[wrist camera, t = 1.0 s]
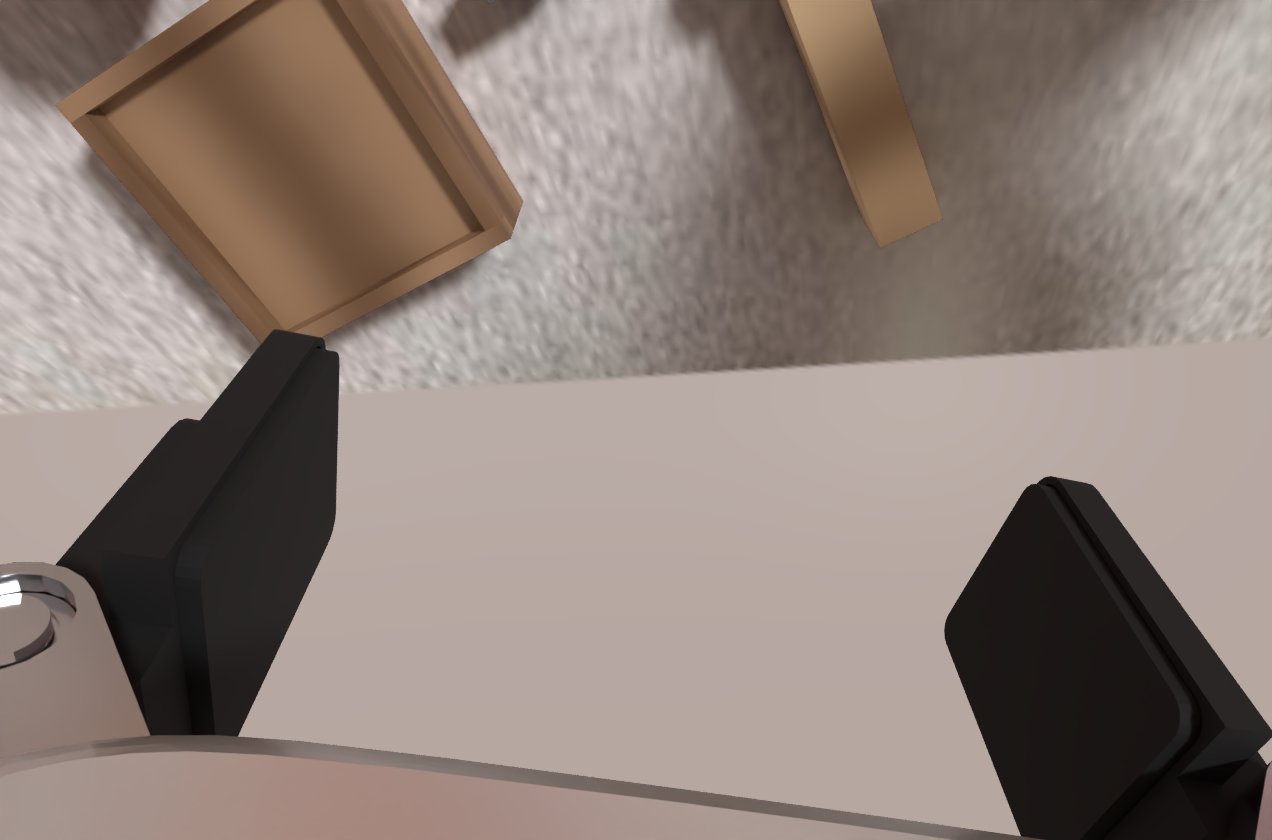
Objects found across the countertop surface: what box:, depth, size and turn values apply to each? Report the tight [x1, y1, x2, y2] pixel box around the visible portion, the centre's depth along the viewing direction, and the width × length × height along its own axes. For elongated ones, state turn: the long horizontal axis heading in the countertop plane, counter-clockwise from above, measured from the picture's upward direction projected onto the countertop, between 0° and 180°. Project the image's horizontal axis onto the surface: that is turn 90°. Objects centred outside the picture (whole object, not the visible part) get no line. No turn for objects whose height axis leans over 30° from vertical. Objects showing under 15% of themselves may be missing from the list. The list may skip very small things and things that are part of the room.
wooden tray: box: [55, 0, 523, 344], centre depth 28 cm, size 10×10×4 cm
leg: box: [779, 0, 943, 248], centre depth 27 cm, size 13×3×2 cm, turn 28°
